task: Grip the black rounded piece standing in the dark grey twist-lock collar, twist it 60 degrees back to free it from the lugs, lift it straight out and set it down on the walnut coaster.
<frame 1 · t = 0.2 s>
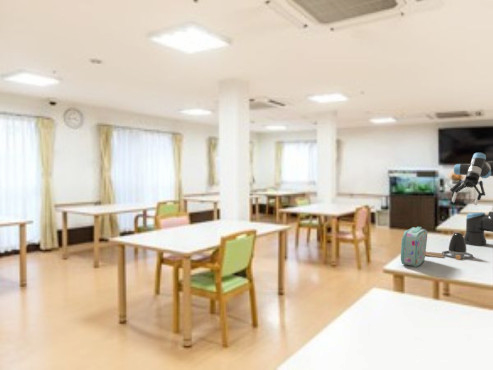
hand: (463, 202, 250), 35 cm above the table, tool tilted 35°, fingers open, 13 cm apart
lunch box: (413, 263, 236), on the table
coaster: (434, 255, 255), on the table
lock collar: (457, 255, 254), on the table
black rounded piece: (457, 256, 254), resting in lock collar
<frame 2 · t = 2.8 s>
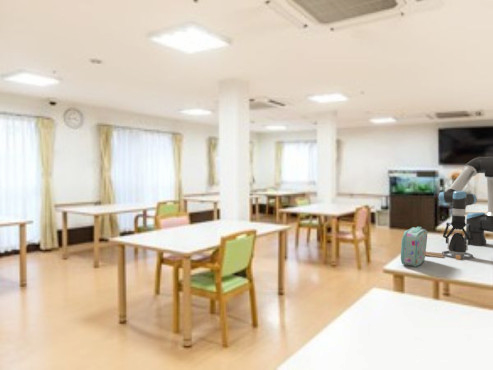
hand: (457, 249, 253), 4 cm above the table, tool pointing down, fingers closed on black rounded piece, 10 cm apart
black rounded piece: (457, 256, 254), resting in lock collar, touching gripper
everything else where it was.
when the fingers open (6 cm above the table, at t = 9.3 s): black rounded piece drops 1 cm, resting on coaster.
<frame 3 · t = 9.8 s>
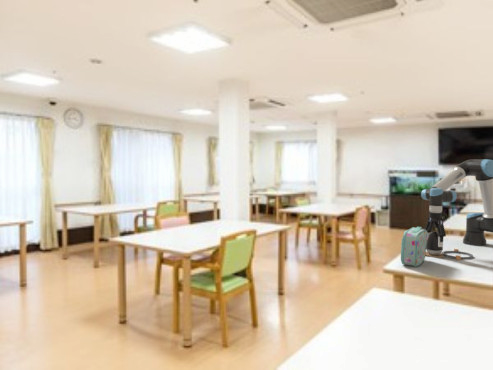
hand: (434, 244, 255), 7 cm above the table, tool pointing down, fingers open, 13 cm apart
black rounded piece: (434, 254, 255), resting on coaster
everything else where it was.
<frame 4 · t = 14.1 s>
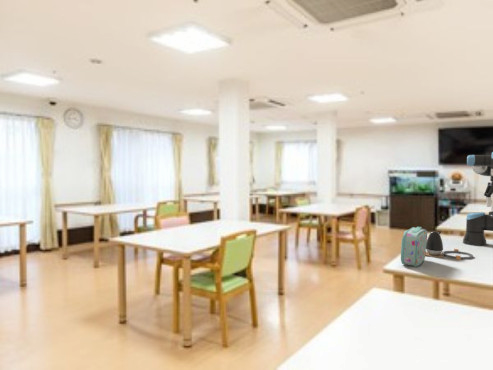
nothing on the table moved.
at the end: black rounded piece inside the target area on the coaster (0.0 cm from its centre), point 0.4 cm above the coaster's base; black rounded piece tilted 0°; the gripper is holding nothing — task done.
